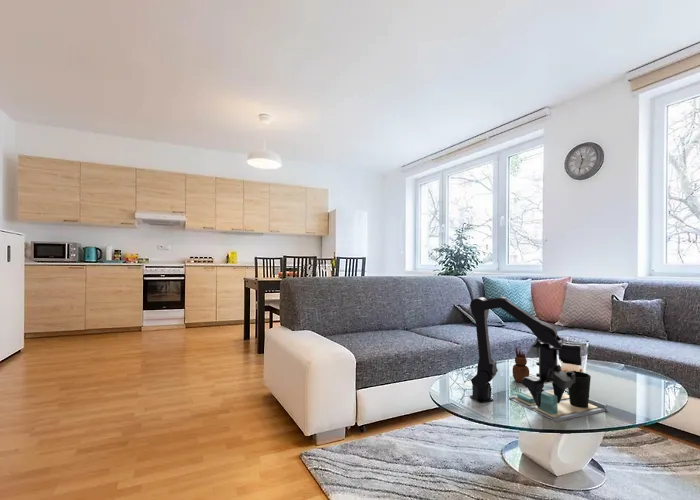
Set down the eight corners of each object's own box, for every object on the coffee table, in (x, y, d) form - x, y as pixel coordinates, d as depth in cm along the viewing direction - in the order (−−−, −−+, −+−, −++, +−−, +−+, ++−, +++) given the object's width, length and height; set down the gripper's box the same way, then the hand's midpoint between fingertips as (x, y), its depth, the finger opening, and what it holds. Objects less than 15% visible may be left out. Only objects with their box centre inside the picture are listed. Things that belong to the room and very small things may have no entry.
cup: (595, 412, 132) (594, 378, 132) (571, 410, 134) (571, 377, 134) (586, 403, 140) (585, 371, 140) (563, 402, 141) (563, 370, 141)
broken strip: (531, 406, 137) (531, 400, 137) (514, 398, 144) (514, 392, 144) (574, 398, 144) (574, 392, 144) (555, 391, 152) (555, 385, 152)
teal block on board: (554, 417, 127) (553, 398, 127) (534, 408, 135) (534, 390, 135) (597, 408, 134) (597, 390, 135) (577, 400, 142) (577, 383, 142)
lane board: (555, 421, 125) (555, 415, 125) (509, 398, 145) (509, 393, 145) (606, 410, 134) (606, 405, 134) (556, 390, 154) (556, 385, 154)
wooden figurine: (510, 381, 165) (510, 347, 165) (515, 378, 169) (515, 345, 169) (526, 385, 160) (526, 350, 160) (531, 382, 164) (531, 348, 164)
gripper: (547, 370, 121) (547, 418, 121) (588, 364, 128) (588, 409, 127) (521, 361, 131) (521, 405, 131) (559, 356, 138) (559, 398, 138)
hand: (548, 404), depth 132 cm, fingers open, 9 cm apart
